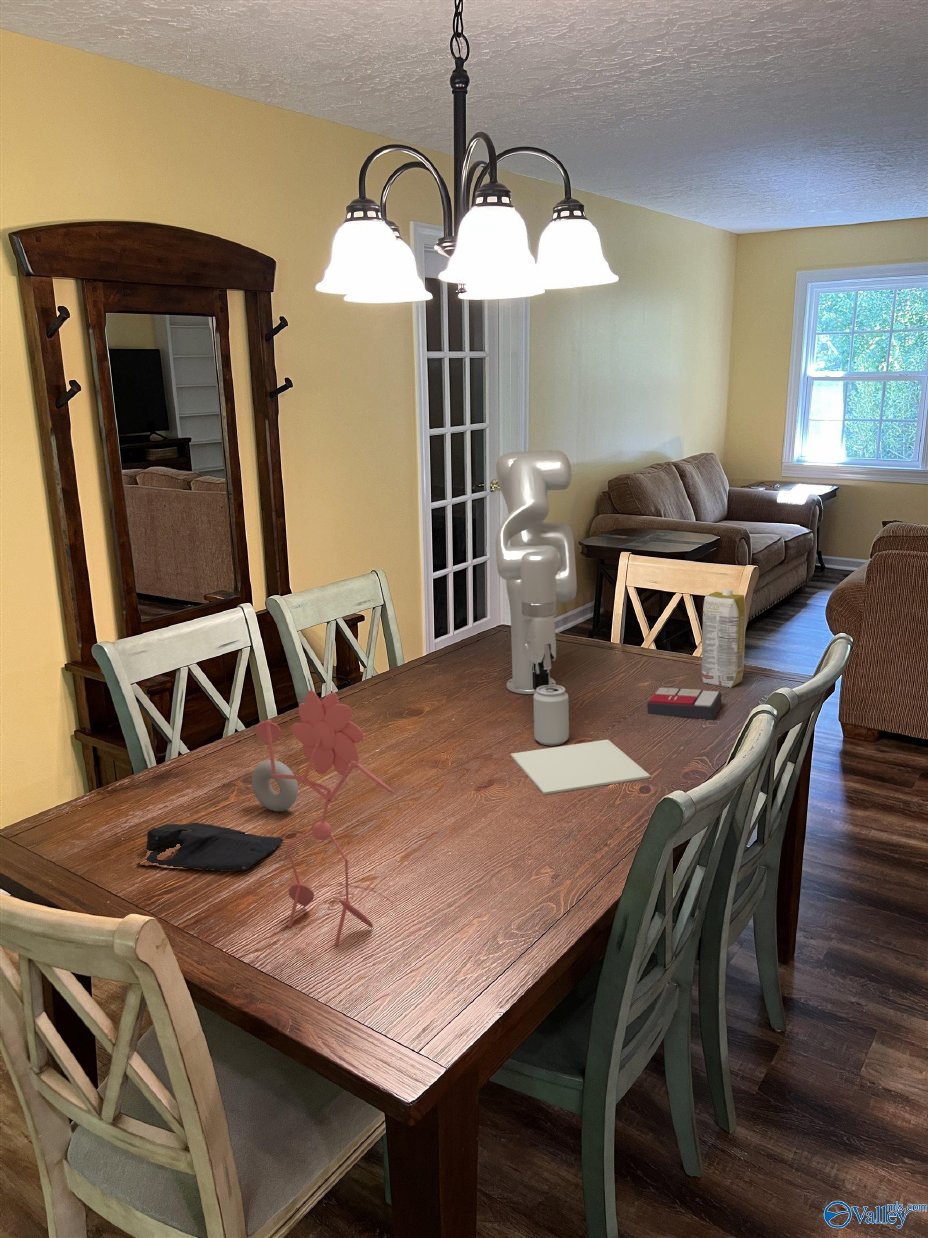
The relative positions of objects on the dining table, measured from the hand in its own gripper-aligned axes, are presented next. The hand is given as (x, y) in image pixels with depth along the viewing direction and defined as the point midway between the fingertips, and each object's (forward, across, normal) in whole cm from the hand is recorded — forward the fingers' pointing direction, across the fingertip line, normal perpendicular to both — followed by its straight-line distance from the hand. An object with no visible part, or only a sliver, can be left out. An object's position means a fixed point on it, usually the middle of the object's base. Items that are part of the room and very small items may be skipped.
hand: (540, 689), depth 202 cm
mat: (+10, +21, 0) cm, 23 cm away
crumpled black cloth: (+11, +33, -72) cm, 80 cm away
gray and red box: (+10, -1, +36) cm, 37 cm away
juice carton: (+10, -15, +54) cm, 57 cm away
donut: (+10, +20, -60) cm, 64 cm away
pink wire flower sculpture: (+11, +59, -53) cm, 80 cm away
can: (+10, +6, 0) cm, 12 cm away
